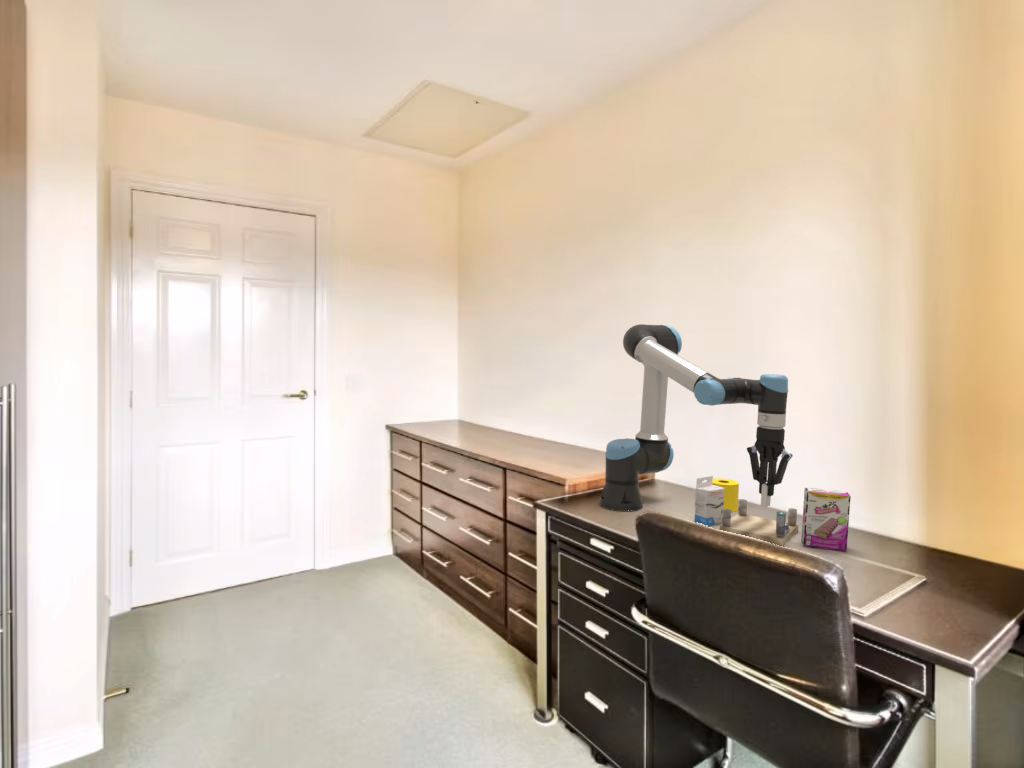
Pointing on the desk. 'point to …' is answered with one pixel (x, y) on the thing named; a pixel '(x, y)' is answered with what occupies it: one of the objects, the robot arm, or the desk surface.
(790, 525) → the peg board
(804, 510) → the candy bar box
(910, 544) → the desk surface
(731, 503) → the yellow paper roll
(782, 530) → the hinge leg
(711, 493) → the ink box
